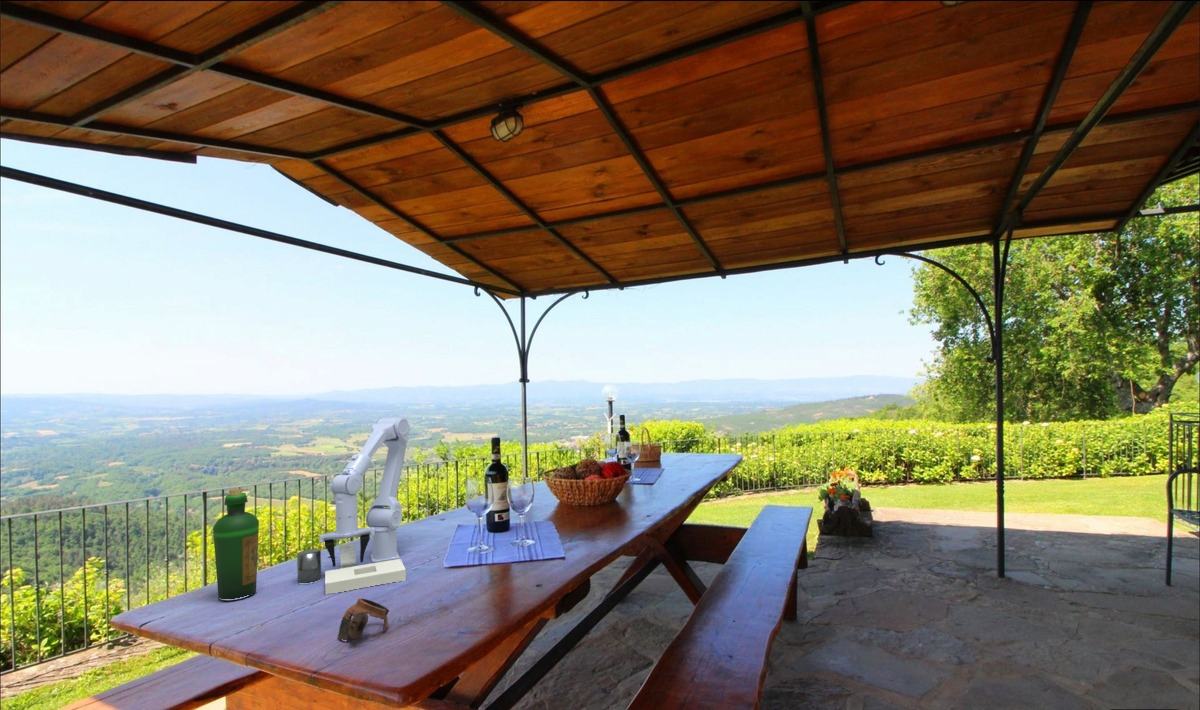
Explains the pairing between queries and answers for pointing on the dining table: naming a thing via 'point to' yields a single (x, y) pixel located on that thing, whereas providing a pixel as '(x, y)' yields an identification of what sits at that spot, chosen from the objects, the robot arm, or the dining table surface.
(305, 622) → the dining table surface
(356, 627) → the brown curved piece
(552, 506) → the dining table surface
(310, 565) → the round dark peg
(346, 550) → the square steel peg
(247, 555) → the bottle
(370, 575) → the cream socket block
